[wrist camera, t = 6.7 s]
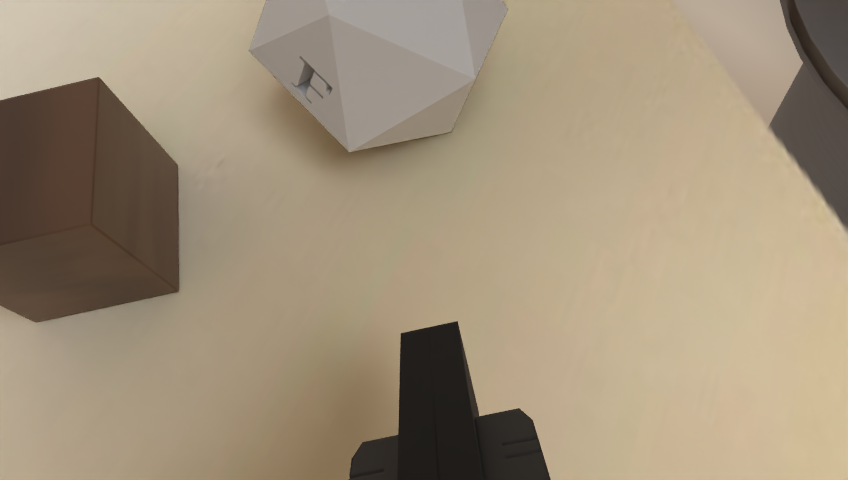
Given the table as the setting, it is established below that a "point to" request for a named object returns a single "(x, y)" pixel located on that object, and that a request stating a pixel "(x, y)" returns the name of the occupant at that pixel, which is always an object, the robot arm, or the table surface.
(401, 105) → the die
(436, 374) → the robot arm
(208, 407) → the table surface
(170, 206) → the walnut block
